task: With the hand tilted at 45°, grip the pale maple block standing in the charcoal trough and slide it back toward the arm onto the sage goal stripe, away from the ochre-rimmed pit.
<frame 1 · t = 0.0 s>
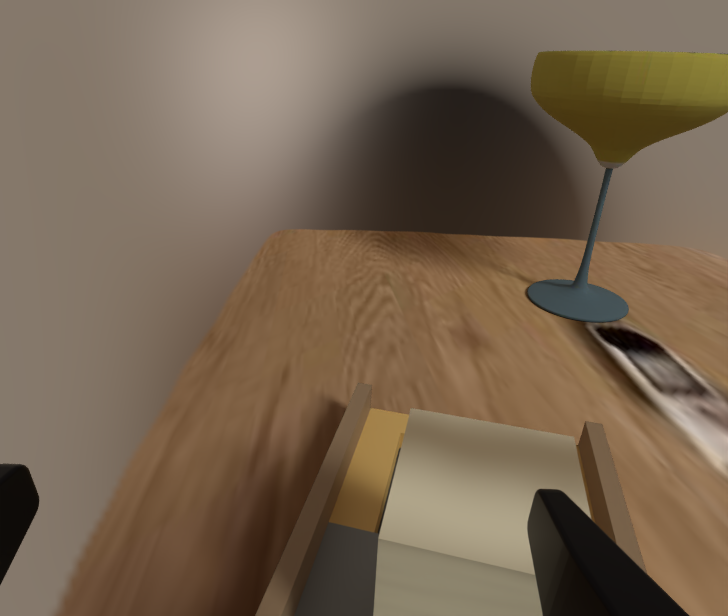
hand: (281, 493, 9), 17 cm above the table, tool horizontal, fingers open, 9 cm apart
cocktail glass: (575, 301, 56), on the table
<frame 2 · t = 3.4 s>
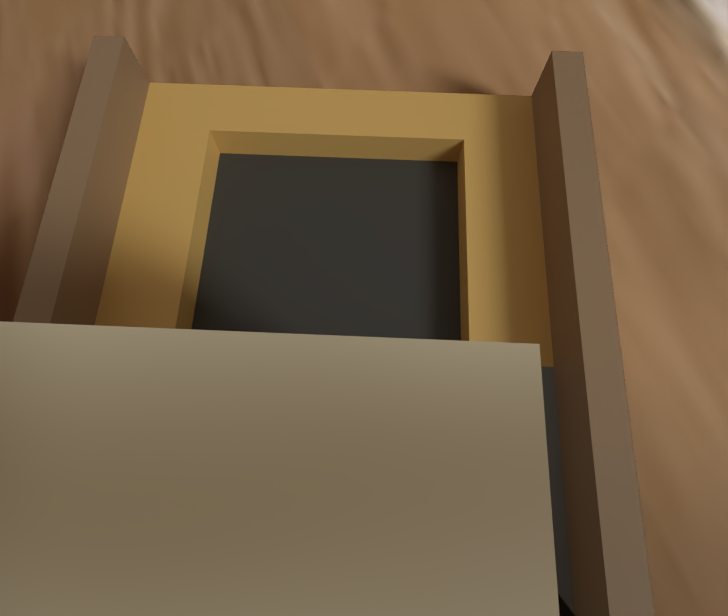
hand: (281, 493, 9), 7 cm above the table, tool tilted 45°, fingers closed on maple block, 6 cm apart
maple block: (306, 539, 13), point 2 cm above the table, touching gripper, trough deck
trough deck: (312, 532, 14), on the table
when the fingers open (7 cm above the table, at t = 7.0 s): maple block stays where it is, resting on trough deck.
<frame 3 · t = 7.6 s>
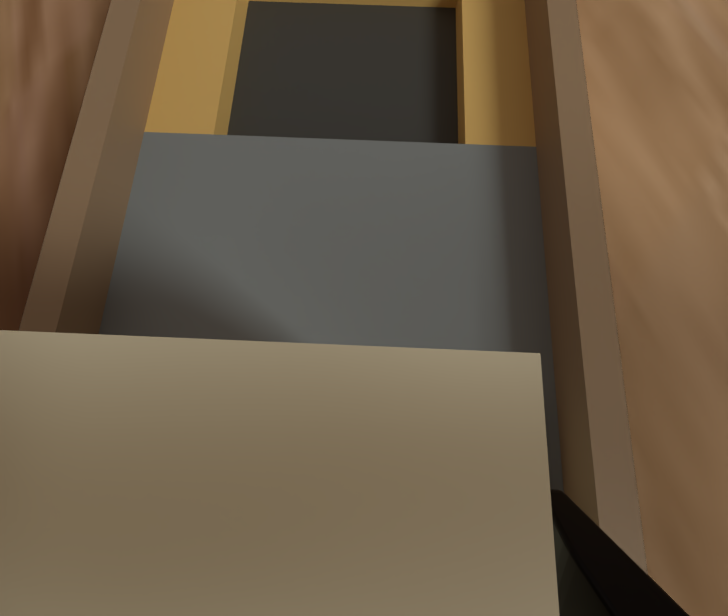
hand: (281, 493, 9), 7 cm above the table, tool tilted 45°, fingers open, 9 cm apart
maple block: (306, 542, 13), point 2 cm above the table, touching trough deck
trough deck: (332, 285, 17), on the table
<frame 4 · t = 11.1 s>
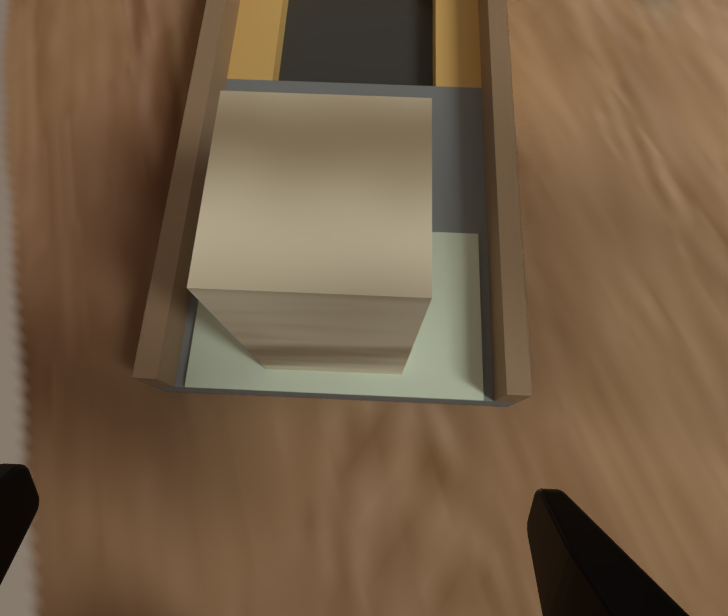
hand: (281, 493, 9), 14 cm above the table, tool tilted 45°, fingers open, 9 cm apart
maple block: (337, 307, 22), point 2 cm above the table, touching trough deck
trough deck: (349, 177, 26), on the table
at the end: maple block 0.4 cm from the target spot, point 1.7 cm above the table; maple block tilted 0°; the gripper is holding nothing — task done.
